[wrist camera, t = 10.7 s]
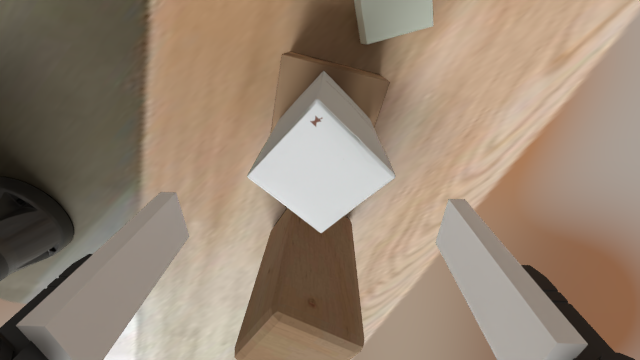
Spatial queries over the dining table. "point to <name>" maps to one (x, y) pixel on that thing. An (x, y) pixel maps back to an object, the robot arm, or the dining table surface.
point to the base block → (354, 82)
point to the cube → (391, 18)
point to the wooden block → (304, 296)
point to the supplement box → (322, 156)
